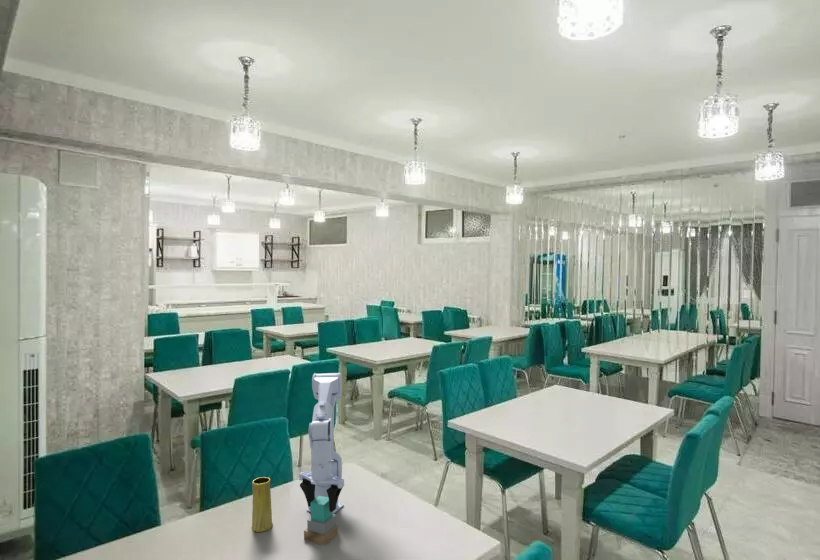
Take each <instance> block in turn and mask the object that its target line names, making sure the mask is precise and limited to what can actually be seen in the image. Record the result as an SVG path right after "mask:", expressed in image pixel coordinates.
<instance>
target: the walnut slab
mask: <svg viewBox="0 0 820 560" xmlns="http://www.w3.org/2000/svg"><path fill="white" fill-rule="evenodd" d="M336 524H337V525H336V526H334V527H333V528H332V529H331V530H330V531H329V532H327V533H326V534H325V535H323V534H319V533H315V532H312V531H308V530H307V528H306V529H304V530H303V540H304V541H308V542H310V541H311V543H315V544H319V545H322V546H325V545H326V544H328V542H330V540H332V539H333V538H334V537H335V536H336V535H337V534H338V533H339V524H338V523H336Z"/></svg>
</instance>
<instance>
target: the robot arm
mask: <svg viewBox="0 0 820 560" xmlns="http://www.w3.org/2000/svg"><path fill="white" fill-rule="evenodd" d="M311 388H312V392H313V393H312V394H313V397H314V399H315V400H318V402H317V403H316V404H315V405H314V407H313V412H312V419H311V420H312V421H311V422H309V425H308V439H309V449H310V455H311V456H310V471H305V470H304V471H302V472H300V473H299V481H302V482H301V483H300V484H299V488H300V490H301V491H302V492H303V494H304V497H305V499H306V503H307V508H306V511H307V512H310V513H311V503H310V502H312V501H313V500H314V499H315V498H317V497H318V496H324V497H328V498H329V510H330V512H332V514H335V513H337V512H338V511H339V510H341V508H343V507H344V506H345V505H344V503H340V502H339V496H340V494H341V492H342V490H343V487H345V479H344V478H342V477H343V461H342V456H341V454H339V453H338V452H336V451H335V450H334V445H335V444H334V443H335V442H334V441H335V440H334V439H335V438H334V437H335V435H334V434H335V433H334V432H335V405H336V403H337V400H338V399H341V398H342V391H343V376H342V373H341V372H327V373H326V372H325V373H316V372H314V373H313V374H312V378H311Z"/></svg>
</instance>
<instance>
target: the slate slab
mask: <svg viewBox="0 0 820 560" xmlns="http://www.w3.org/2000/svg"><path fill="white" fill-rule="evenodd" d="M306 522H307V525H306V526H307V528H306V529H307V530H308V531H312V532H315V533H319V534H323V535H325V534H326V533H327V532H329V531H330V530H331V529H332V528H333V527H334V526H336V525H337V524H338V523H337V514H335V513H334V514H332V516H331V517H329V518H328V519H327V520H326V521H325V522H320V521H315V520H311V517H309V518H308V519H307V521H306Z"/></svg>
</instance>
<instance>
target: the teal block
mask: <svg viewBox="0 0 820 560" xmlns="http://www.w3.org/2000/svg"><path fill="white" fill-rule="evenodd" d="M310 503H311V512H310V518H311V520H315V521H320V522H325V521H326V520H327V519H328V518H329V517H331V516H332V512H330V510H329V498H328V497H324V496H318V497H317V498H315V499H314V500H313V501H312V502H310Z"/></svg>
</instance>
